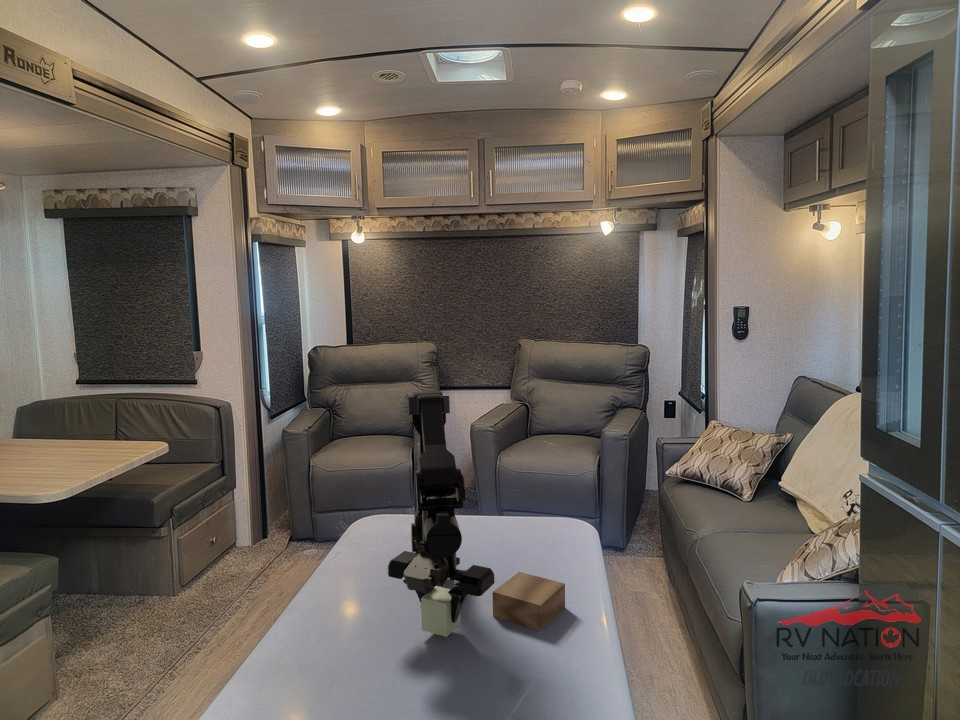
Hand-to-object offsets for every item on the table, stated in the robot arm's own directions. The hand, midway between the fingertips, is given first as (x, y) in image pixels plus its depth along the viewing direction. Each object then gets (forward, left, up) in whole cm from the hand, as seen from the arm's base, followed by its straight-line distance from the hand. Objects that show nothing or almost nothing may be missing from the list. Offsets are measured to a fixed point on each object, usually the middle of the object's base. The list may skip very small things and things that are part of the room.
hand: (441, 618), depth 116 cm
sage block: (0, 0, -2) cm, 2 cm away
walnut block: (+11, +14, -3) cm, 18 cm away
